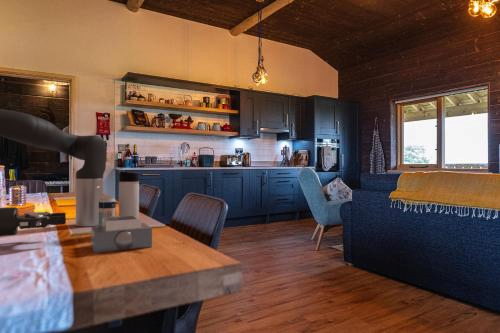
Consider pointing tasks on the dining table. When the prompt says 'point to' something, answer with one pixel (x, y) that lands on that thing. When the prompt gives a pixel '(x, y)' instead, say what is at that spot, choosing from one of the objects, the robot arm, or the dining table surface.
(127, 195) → the travel mug
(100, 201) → the beer can
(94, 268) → the dining table surface
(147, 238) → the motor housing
